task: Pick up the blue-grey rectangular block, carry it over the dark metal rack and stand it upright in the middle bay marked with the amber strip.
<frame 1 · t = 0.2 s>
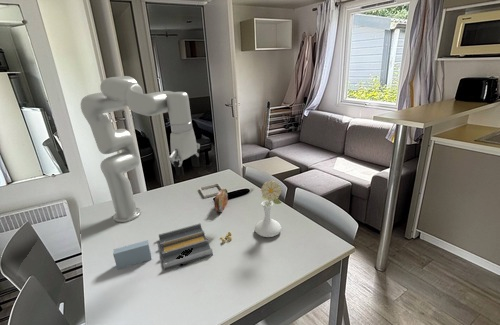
hand: (188, 170, 102), 31 cm above the table, tool pointing down, fingers open, 9 cm apart
beige square frame: (211, 191, 153), on the table
flower in vase: (269, 232, 114), on the table
tin: (222, 207, 136), on the table
dice set: (226, 240, 111), on the table
rack: (184, 246, 108), on the table
blue-grey rectangular block: (134, 261, 101), on the table
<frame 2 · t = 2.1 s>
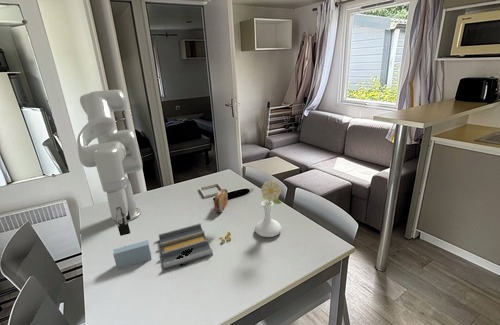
hand: (125, 227, 95), 16 cm above the table, tool pointing down, fingers open, 9 cm apart
nothing on the table moved.
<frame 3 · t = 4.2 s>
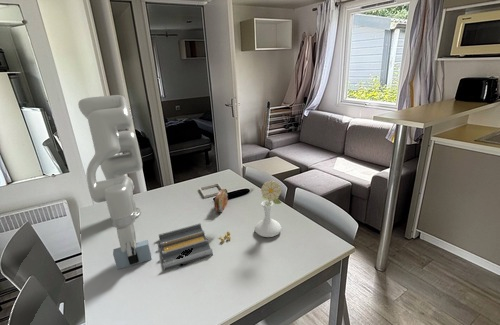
hand: (134, 259, 101), 1 cm above the table, tool pointing down, fingers closed on blue-grey rectangular block, 3 cm apart
blue-grey rectangular block: (134, 261, 101), on the table, touching gripper
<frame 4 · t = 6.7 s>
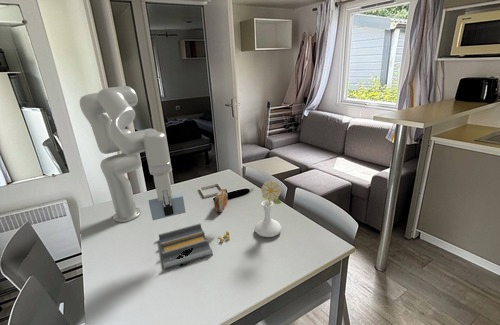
hand: (168, 212, 100), 17 cm above the table, tool pointing down, fingers closed on blue-grey rectangular block, 3 cm apart
blue-grey rectangular block: (169, 214, 101), point 16 cm above the table, touching gripper
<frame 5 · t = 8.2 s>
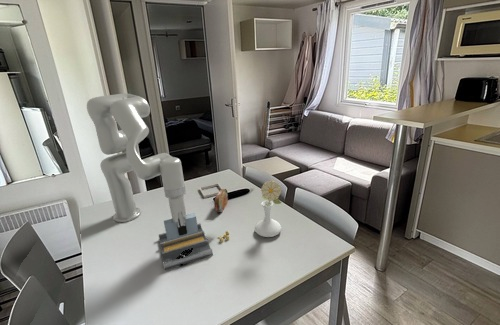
hand: (182, 231, 105), 7 cm above the table, tool pointing down, fingers closed on blue-grey rectangular block, 3 cm apart
blue-grey rectangular block: (182, 233, 105), point 6 cm above the table, touching gripper
when the fingers open (3 cm above the table, at t = 9.4 s): blue-grey rectangular block stays where it is, resting on rack.
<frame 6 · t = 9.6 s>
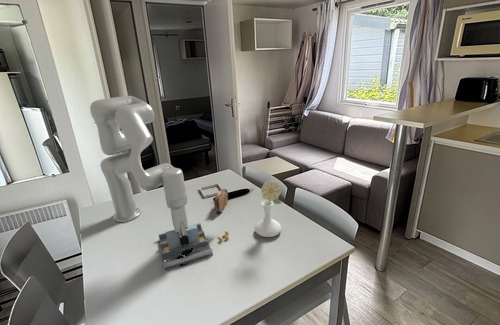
hand: (183, 239, 107), 3 cm above the table, tool pointing down, fingers open, 4 cm apart
blue-grey rectangular block: (184, 244, 107), point 1 cm above the table, touching rack
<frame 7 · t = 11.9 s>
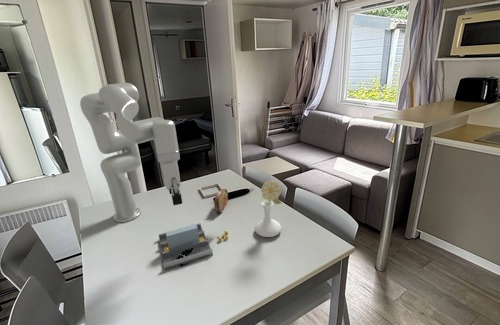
hand: (175, 198, 100), 22 cm above the table, tool pointing down, fingers open, 9 cm apart
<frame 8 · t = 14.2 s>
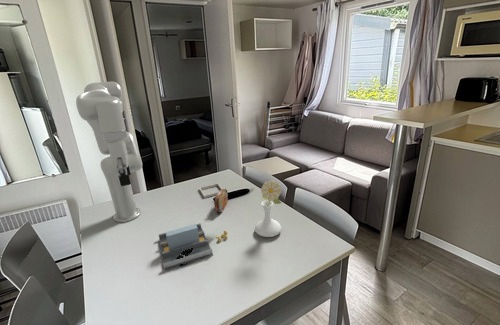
hand: (126, 180, 98), 30 cm above the table, tool pointing down, fingers open, 9 cm apart
at the end: blue-grey rectangular block inside the target area on the rack (0.1 cm from its centre), point 1.1 cm above the rack's base; blue-grey rectangular block tilted 0°; the gripper is holding nothing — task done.
